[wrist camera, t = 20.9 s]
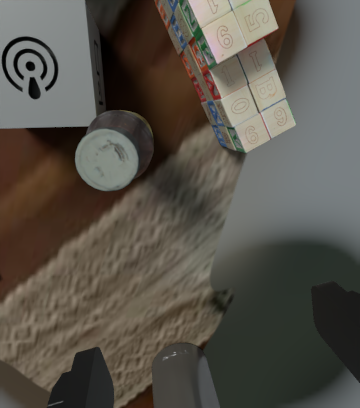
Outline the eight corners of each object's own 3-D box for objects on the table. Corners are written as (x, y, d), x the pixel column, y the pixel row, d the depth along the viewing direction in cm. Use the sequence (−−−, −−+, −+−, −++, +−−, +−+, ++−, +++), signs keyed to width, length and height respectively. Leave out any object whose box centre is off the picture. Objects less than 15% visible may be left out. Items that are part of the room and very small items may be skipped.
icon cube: (107, 123, 37) (97, 125, 27) (22, 125, 35) (-21, 128, 26) (99, 32, 34) (84, -1, 24) (5, 30, 32) (-49, -4, 23)
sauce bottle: (151, 111, 37) (166, 107, 18) (152, 160, 39) (168, 205, 20) (97, 111, 36) (54, 107, 17) (101, 162, 38) (66, 209, 19)
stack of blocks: (261, 123, 39) (314, 127, 28) (220, 146, 39) (255, 159, 28) (190, -54, 33) (220, -148, 21) (140, -27, 33) (143, -105, 21)
